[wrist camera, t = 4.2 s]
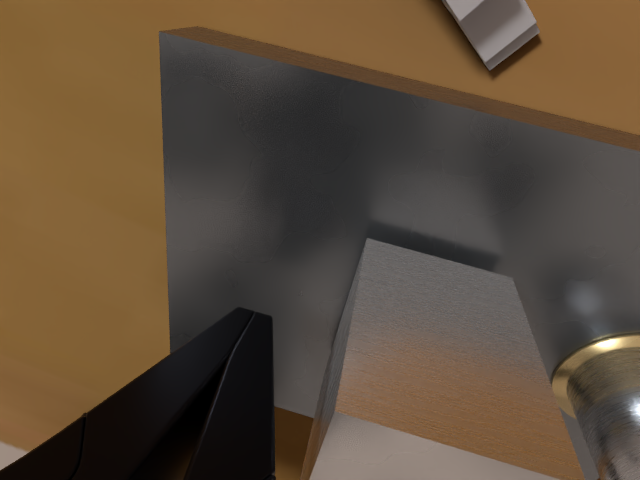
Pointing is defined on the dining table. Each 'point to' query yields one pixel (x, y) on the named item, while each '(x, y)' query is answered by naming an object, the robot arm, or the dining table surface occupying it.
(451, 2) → the caliper
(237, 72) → the plate
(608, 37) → the dining table surface
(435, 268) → the block
